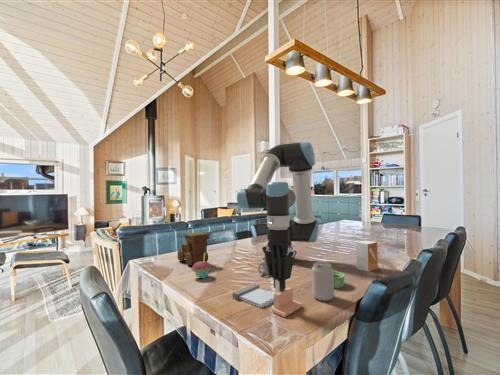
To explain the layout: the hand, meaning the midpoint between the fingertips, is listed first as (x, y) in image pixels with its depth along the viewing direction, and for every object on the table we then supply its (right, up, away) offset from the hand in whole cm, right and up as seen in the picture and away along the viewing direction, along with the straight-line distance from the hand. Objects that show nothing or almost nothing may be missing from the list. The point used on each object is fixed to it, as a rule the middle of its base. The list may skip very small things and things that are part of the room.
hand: (279, 298), depth 84 cm
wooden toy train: (-42, -5, +56) cm, 70 cm away
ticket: (-7, -3, +7) cm, 11 cm away
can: (+16, -3, +7) cm, 18 cm away
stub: (+2, -2, -2) cm, 4 cm away
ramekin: (+24, -3, +19) cm, 31 cm away
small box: (+47, -3, +38) cm, 61 cm away
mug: (-2, -4, +35) cm, 35 cm away
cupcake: (-32, -4, +31) cm, 45 cm away
